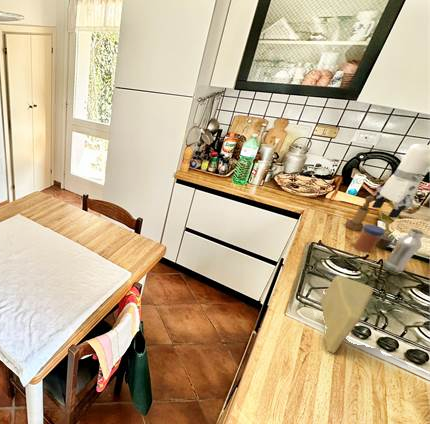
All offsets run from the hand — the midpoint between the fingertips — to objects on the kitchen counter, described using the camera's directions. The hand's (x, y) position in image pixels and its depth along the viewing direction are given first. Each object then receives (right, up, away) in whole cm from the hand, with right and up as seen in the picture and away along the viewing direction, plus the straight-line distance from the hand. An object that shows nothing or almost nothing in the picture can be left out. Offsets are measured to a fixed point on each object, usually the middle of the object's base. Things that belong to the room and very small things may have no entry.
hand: (384, 212), depth 133 cm
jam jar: (0, -17, +9) cm, 19 cm away
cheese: (-52, -39, -33) cm, 73 cm away
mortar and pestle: (+12, -8, +26) cm, 29 cm away
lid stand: (+10, -16, +11) cm, 22 cm away
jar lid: (0, -8, +4) cm, 9 cm away
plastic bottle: (-4, -25, -6) cm, 26 cm away
